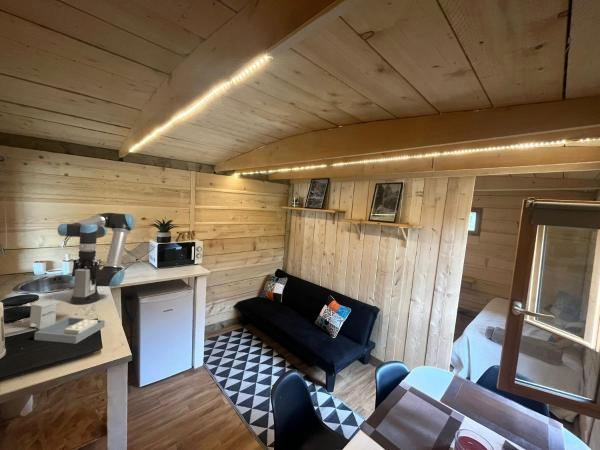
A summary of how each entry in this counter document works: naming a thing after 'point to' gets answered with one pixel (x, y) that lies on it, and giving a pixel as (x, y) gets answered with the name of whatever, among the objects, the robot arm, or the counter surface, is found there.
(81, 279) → the skincare box
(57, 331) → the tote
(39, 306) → the supplement box
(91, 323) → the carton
